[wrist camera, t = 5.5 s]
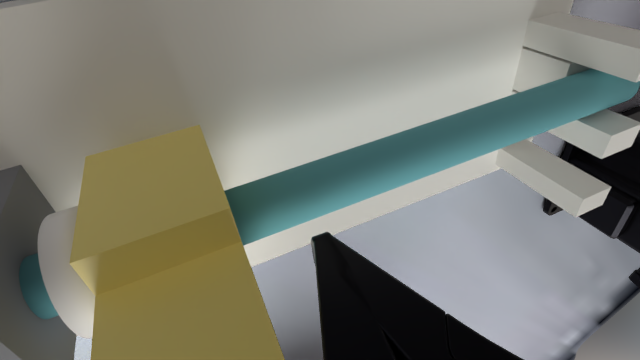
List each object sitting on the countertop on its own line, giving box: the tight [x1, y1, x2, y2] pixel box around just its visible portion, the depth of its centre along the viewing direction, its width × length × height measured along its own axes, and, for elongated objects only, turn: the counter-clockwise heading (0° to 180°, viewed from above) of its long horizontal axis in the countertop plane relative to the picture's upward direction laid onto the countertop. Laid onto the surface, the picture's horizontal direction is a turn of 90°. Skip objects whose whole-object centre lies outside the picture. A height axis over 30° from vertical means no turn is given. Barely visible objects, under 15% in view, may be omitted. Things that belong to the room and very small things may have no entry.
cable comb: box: [0, 0, 640, 336], centre depth 12 cm, size 23×11×6 cm, turn 96°
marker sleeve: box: [69, 125, 285, 360], centre depth 9 cm, size 3×4×7 cm
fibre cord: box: [0, 68, 640, 360], centre depth 12 cm, size 22×4×5 cm, turn 96°
